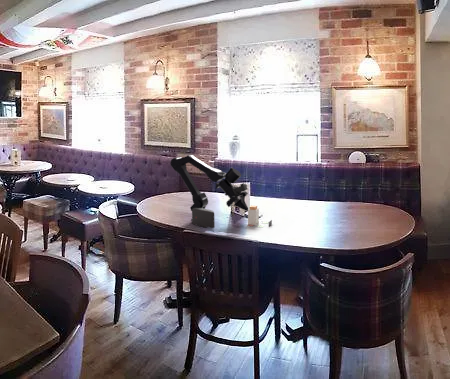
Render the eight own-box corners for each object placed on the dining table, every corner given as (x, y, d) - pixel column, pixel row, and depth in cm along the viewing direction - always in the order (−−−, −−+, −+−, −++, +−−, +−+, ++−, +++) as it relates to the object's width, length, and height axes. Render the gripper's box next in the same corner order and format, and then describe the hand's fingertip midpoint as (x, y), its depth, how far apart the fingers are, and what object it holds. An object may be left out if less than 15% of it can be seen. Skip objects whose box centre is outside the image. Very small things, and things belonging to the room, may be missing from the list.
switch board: (239, 227, 213) (239, 220, 212) (246, 222, 223) (246, 216, 222) (267, 230, 207) (267, 223, 206) (273, 225, 217) (273, 218, 216)
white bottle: (247, 224, 214) (247, 206, 213) (250, 222, 218) (250, 205, 217) (255, 224, 212) (255, 207, 211) (258, 222, 216) (258, 205, 215)
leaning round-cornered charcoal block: (218, 228, 212) (218, 210, 210) (212, 230, 208) (212, 212, 207) (197, 223, 223) (197, 206, 221) (191, 224, 219) (191, 208, 218)
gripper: (231, 181, 206) (251, 204, 204) (244, 176, 223) (263, 197, 221) (217, 195, 211) (237, 217, 208) (231, 189, 227) (250, 210, 225)
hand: (247, 210), depth 215 cm, fingers closed
